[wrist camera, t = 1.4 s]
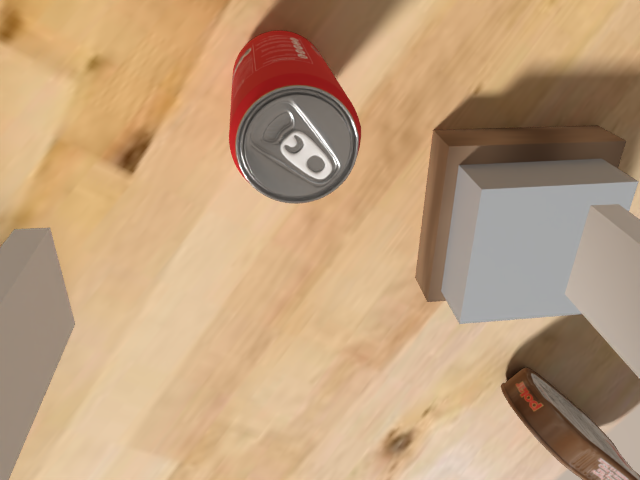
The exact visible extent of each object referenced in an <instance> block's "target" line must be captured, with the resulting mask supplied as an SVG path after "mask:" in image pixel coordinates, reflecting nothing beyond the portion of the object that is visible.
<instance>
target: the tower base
mask: <svg viewBox="0 0 640 480" xmlns="http://www.w3.org/2000/svg"><path fill="white" fill-rule="evenodd" d="M625 143H626V141H625V140H623V139H622V138H620V137H618V136H616V135H614V134H612V133H611V132H609V131H607V130H605V129H603V128H601V127H600V126H564V127H527V128H490V129H453V130H433V136H432V144H431V152H430V160H429V169H428V177H427V185H426V193H425V202H424V210H423V218H422V227H421V235H420V243H419V251H418V260H417V268H416V276H415V278H416V280H417V282H418V284H419V286H420V288H421V290H422V292H423V294H424V296H425V298H426V300H427V302H434V301H446V299H445V297H444V295H443V294H442V292H441V289H442V282H443V275H444V268H445V260H446V253H447V246H448V239H449V232H450V225H451V217H452V210H453V203H454V196H455V189H456V182H457V175H458V167H459V165H471V164H493V163H515V162H538V161H560V160H582V159H603V160H605V161H606V162H608V163H610V164H611V165H613V166H614V167H616V168H618V166H619V163H620V159H621V156H622V153H623V150H624V146H625Z"/></svg>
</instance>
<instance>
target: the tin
mask: <svg viewBox="0 0 640 480" xmlns="http://www.w3.org/2000/svg"><path fill="white" fill-rule="evenodd" d="M501 389H502V392H503V394H504V396H505V398H506V400H507V401H508V403H509V404H510V406H511V407H512V409H513V410H514V411H515V413H516V414H517V415H518V417H519V418H520V419H521V420H522V422H523V423H524V424H525V426H526V427H527V428H528V429H529V430H530V432H531V433H532V434H533V435H534V436H535V437H536V438H537V440H538V441H539V442H540V443H541V444H542V445H543V446H544V447H545V448H546V449H547V450H548V451H549V452H550V453H551V454H552V455H553V456H554V457H555V458H556V459H557V460H558V461H559V462H560V463H562V464H563V465H564V466H565V467H566V468H568V469H569V470H570V471H572V472H573V473H574V474H576V475H577V476H578V477H580V478H581V479H582V480H640V475H639V474H638V473H636V472H635V471H634V470H633V469H632V468H631V467H630V466H629V464H628V463H627V462H626V461H625V459H624V458H623V457H622V456H621V454H620V453H619V452H618V450H617V448H616V447H615V445H614V444H613V443H612V441H611V440H610V439H609V438H608V437H607V436H606V435H605V434H604V432H603V431H602V430H601V429H600V428H599V427H598V426H597V425H596V424H595V423H594V422H593V421H592V420H591V419H590V418H589V417H587V416H586V415H585V414H584V413H583V412H582V411H581V410H580V409H578V408H577V407H576V406H575V405H574V404H573V403H572V402H570V401H569V400H568V399H567V398H566V397H565V396H564V395H563V394H561V393H560V392H559V391H558V390H557V389H555V388H554V387H553V386H552V385H551V384H549V383H548V382H547V381H546V380H544V379H543V378H542V377H541V376H540V375H538V374H537V373H536V372H534V371H533V370H531V369H529V368H524V369H522V370H520V371H519V372H518V373H517V374H515V375H514V376H513V377H512V378H511V379H509V380H508V381H507V382H506V383H503V384H502V385H501Z"/></svg>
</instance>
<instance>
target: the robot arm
mask: <svg viewBox="0 0 640 480" xmlns="http://www.w3.org/2000/svg"><path fill="white" fill-rule="evenodd" d="M565 295H566V296H567V297H568V298H569V300H570V301H571V302H572V303H573V304H574V305H575V306H576V307H577V309H578V310H579V311H580V312H581V313H582V314H583V315H584V317H585V318H586V319H587V320H588V321H589V322H590V323H591V324H592V326H593V327H594V328H595V329H596V330H597V331H598V332H599V334H600V335H601V336H602V337H603V338H604V339H605V340H606V341H607V343H608V344H609V345H610V346H611V347H612V348H613V349H614V351H615V352H616V353H617V354H618V355H619V356H620V357H621V358H622V360H623V361H624V362H625V363H626V364H627V365H628V366H629V368H630V369H631V370H632V371H633V372H634V373H635V374H636V375H637V377H638V378H639V379H640V219H638V218H637V217H635V216H634V215H633V214H631V213H630V212H629V211H627V210H626V209H625V208H623V207H622V206H620V205H619V204H610V205H591V206H590V209H589V213H588V216H587V219H586V223H585V226H584V230H583V233H582V236H581V240H580V243H579V247H578V250H577V254H576V257H575V260H574V264H573V267H572V271H571V274H570V278H569V281H568V284H567V288H566V291H565ZM74 325H75V321H74V318H73V314H72V310H71V306H70V302H69V298H68V295H67V291H66V287H65V283H64V279H63V275H62V272H61V268H60V264H59V260H58V256H57V253H56V249H55V245H54V241H53V237H52V233H51V230H50V228H31V229H14V230H13V232H12V233H11V234H10V236H9V237H8V238H7V240H6V241H5V242H4V243H3V245H2V246H1V247H0V480H9V478H10V475H11V473H12V471H13V468H14V466H15V464H16V461H17V459H18V457H19V454H20V452H21V449H22V447H23V445H24V442H25V440H26V438H27V435H28V433H29V431H30V428H31V426H32V424H33V421H34V419H35V417H36V414H37V412H38V410H39V407H40V405H41V403H42V400H43V398H44V396H45V393H46V391H47V389H48V386H49V384H50V382H51V379H52V377H53V375H54V372H55V370H56V368H57V365H58V363H59V361H60V358H61V356H62V353H63V351H64V349H65V346H66V344H67V342H68V339H69V337H70V335H71V332H72V330H73V328H74Z"/></svg>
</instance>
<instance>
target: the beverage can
mask: <svg viewBox="0 0 640 480" xmlns="http://www.w3.org/2000/svg"><path fill="white" fill-rule="evenodd" d="M360 139H361V126H360V122H359V119H358V116H357V113H356V111H355V109H354V107H353V105H352V103H351V102H350V100H349V98H348V97H347V95H346V94H345V92H344V91H343V89H342V87H341V86H340V84H339V83H338V81H337V80H336V78H335V77H334V75H333V73H332V72H331V70H330V69H329V67H328V66H327V64H326V63H325V61H324V59H323V58H322V56H321V55H320V53H319V52H318V50H317V49H316V48H315V47H314V45H313V44H312V43H311V42H309V41H308V40H307V39H305V38H304V37H302V36H300V35H298V34H296V33H293V32H289V31H270V32H266V33H263V34H261V35H259V36H257V37H255V38H253V39H252V40H251V41H249V42H248V43H247V44H246V45H245V46H244V48H243V49H242V50H241V52H240V53H239V55H238V57H237V59H236V62H235V65H234V69H233V79H232V96H231V113H230V130H229V144H230V150H231V154H232V158H233V160H234V163H235V165H236V167H237V168H238V170H239V172H240V173H241V175H242V176H243V177H244V178H245V179H246V180H247V181H248V182H249V183H250V184H251V185H252V186H253V187H254V188H255V189H256V190H257V191H259V192H260V193H262V194H263V195H265V196H267V197H269V198H271V199H274V200H276V201H280V202H285V203H306V202H311V201H315V200H318V199H320V198H322V197H325V196H326V195H328V194H330V193H331V192H333V191H334V190H335V189H337V188H338V187H339V186H340V185H341V184H342V183H343V182H344V181H345V180H346V178H347V177H348V175H349V174H350V172H351V170H352V168H353V166H354V164H355V161H356V158H357V154H358V151H359V147H360Z"/></svg>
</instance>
